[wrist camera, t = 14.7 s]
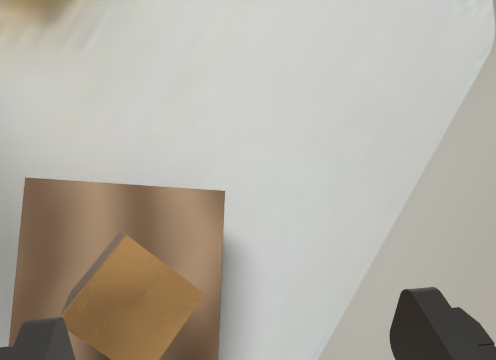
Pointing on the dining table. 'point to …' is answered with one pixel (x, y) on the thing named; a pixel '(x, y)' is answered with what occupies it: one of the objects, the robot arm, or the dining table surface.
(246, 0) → the dining table surface
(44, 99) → the dining table surface
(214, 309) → the stand
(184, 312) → the block
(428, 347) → the robot arm
